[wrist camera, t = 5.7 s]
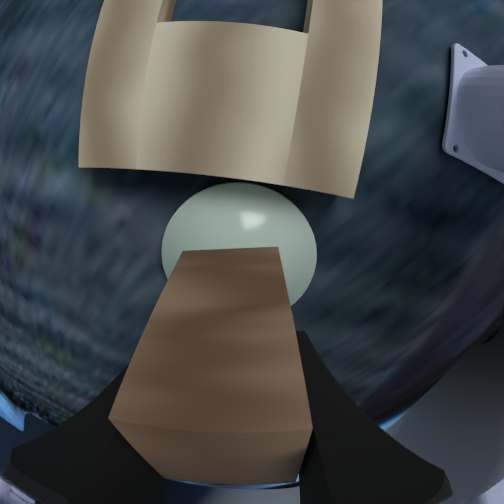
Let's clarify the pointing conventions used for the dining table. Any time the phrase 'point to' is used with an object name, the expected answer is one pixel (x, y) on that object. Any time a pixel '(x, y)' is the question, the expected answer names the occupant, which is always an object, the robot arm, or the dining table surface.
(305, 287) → the coaster
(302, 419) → the walnut block
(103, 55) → the board
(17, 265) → the dining table surface
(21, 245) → the dining table surface
